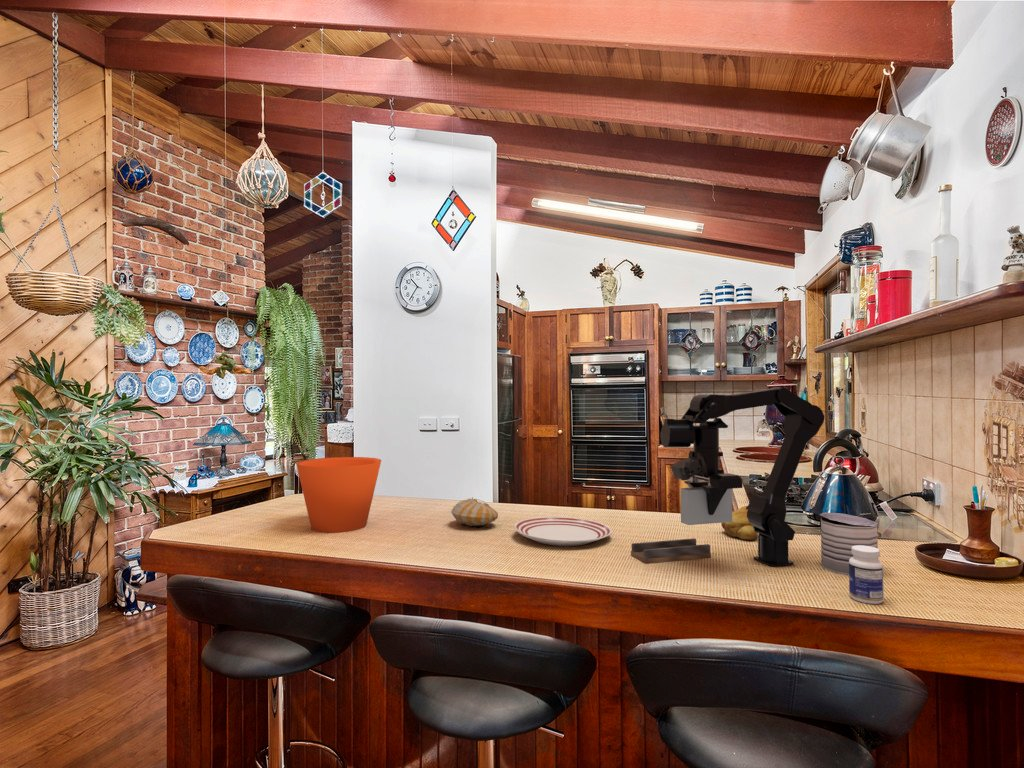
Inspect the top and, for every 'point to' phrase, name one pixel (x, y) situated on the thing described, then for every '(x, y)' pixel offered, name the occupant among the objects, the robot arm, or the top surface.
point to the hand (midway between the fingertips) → (706, 513)
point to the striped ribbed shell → (474, 512)
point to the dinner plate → (562, 530)
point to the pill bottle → (866, 575)
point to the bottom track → (670, 551)
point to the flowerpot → (338, 491)
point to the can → (844, 539)
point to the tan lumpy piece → (740, 525)
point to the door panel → (704, 507)
